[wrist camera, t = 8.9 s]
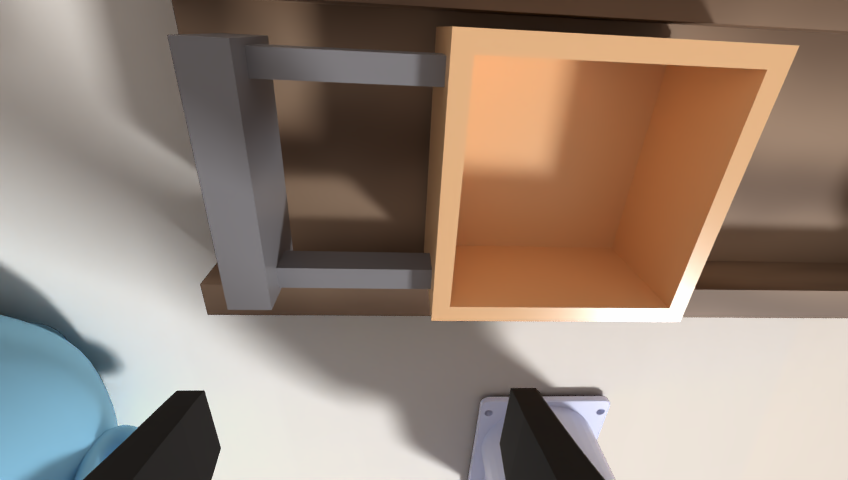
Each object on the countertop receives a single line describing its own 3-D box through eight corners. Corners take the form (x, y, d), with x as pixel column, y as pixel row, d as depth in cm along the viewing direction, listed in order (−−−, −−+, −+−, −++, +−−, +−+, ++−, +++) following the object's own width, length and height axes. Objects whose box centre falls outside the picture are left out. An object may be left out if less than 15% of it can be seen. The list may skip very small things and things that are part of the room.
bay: (879, 279, 22) (1059, 375, 16) (236, 271, 20) (163, 379, 14) (1067, 4, 16) (1470, -10, 10) (171, -56, 14) (-9, -120, 8)
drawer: (614, 253, 19) (681, 323, 14) (273, 247, 18) (230, 321, 13) (680, 39, 15) (802, 46, 10) (239, 15, 14) (161, 10, 9)
